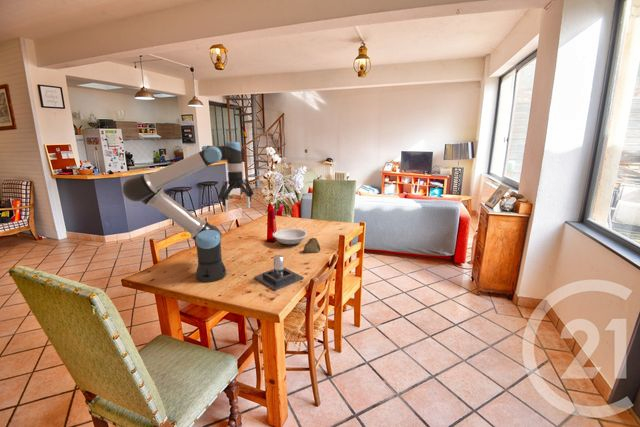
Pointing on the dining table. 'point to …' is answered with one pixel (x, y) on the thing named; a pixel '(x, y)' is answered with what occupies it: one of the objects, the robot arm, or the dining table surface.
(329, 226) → the dining table surface
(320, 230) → the dining table surface
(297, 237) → the soup bowl
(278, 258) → the steel roller
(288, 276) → the socket plate
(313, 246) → the rock
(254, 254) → the dining table surface
